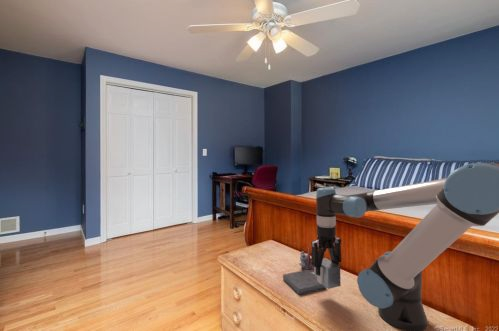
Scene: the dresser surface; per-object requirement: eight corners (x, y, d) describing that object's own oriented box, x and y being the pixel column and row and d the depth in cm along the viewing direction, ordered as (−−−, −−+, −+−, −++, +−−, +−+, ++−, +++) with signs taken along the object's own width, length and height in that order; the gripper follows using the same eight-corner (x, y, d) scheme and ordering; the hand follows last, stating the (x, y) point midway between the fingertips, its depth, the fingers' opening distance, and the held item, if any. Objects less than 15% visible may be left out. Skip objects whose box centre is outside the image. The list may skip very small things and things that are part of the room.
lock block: (340, 285, 97) (340, 266, 97) (328, 288, 95) (328, 268, 95) (325, 276, 106) (325, 257, 106) (314, 278, 104) (314, 260, 103)
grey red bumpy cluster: (321, 268, 123) (307, 249, 125) (304, 278, 126) (291, 259, 128) (321, 259, 134) (308, 242, 135) (305, 269, 136) (293, 252, 138)
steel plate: (326, 288, 109) (326, 283, 109) (299, 295, 104) (299, 289, 104) (307, 274, 122) (307, 269, 122) (283, 279, 117) (283, 274, 117)
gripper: (338, 221, 107) (338, 273, 108) (301, 225, 100) (302, 281, 101) (351, 225, 100) (351, 280, 101) (312, 230, 93) (312, 290, 94)
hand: (326, 280), depth 101 cm, fingers closed on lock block, 6 cm apart
